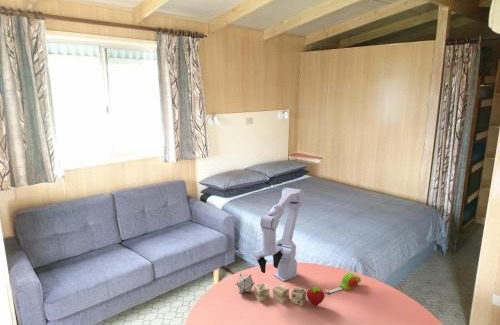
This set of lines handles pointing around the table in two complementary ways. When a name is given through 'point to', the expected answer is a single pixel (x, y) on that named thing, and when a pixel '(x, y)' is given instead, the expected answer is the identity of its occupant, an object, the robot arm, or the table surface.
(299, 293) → the pip block
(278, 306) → the table surface
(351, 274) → the toy measuring tape
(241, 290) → the game die
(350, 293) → the table surface
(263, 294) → the pip block
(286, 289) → the plain block
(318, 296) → the strawberry
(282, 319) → the table surface
